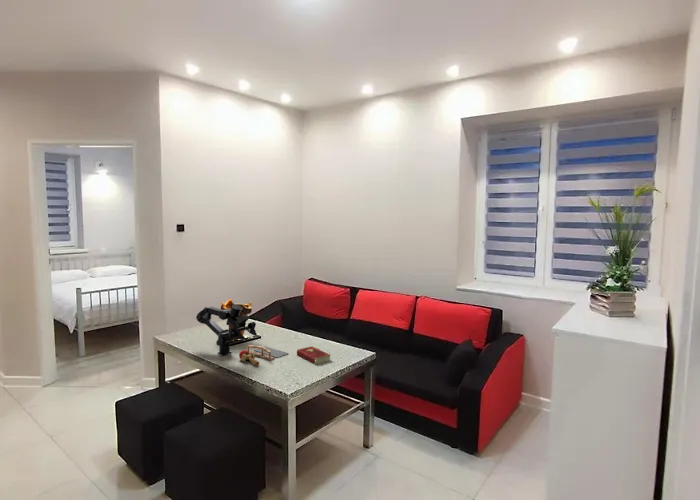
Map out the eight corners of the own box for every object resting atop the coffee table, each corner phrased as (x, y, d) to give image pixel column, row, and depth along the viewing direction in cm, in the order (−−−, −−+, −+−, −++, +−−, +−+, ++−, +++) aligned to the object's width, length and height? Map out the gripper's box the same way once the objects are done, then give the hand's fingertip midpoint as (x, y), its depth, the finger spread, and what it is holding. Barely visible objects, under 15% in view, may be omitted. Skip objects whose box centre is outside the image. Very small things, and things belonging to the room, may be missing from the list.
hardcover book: (314, 365, 247) (315, 358, 247) (296, 355, 263) (296, 349, 263) (330, 361, 255) (330, 354, 254) (312, 351, 271) (312, 345, 271)
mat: (253, 350, 269) (253, 350, 269) (265, 347, 277) (265, 346, 277) (277, 358, 256) (277, 357, 256) (288, 353, 265) (288, 353, 265)
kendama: (263, 366, 247) (247, 354, 259) (262, 357, 245) (246, 346, 257) (252, 371, 242) (236, 359, 254) (251, 362, 240) (235, 350, 252)
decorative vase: (250, 342, 285) (247, 303, 283) (217, 343, 286) (215, 304, 283) (257, 333, 306) (255, 297, 304) (227, 334, 306) (224, 298, 304)
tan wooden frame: (247, 353, 264) (247, 345, 263) (252, 351, 267) (252, 343, 267) (269, 360, 252) (269, 352, 251) (274, 358, 255) (274, 350, 255)
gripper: (226, 315, 245) (242, 329, 237) (250, 309, 260) (265, 323, 252) (221, 330, 248) (237, 345, 241) (245, 323, 263) (260, 337, 256)
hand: (250, 337), depth 247 cm, fingers open, 9 cm apart
